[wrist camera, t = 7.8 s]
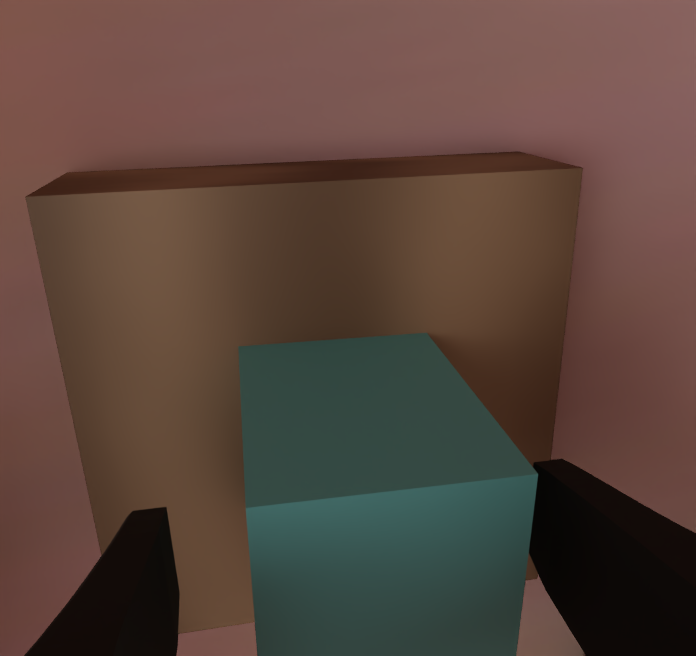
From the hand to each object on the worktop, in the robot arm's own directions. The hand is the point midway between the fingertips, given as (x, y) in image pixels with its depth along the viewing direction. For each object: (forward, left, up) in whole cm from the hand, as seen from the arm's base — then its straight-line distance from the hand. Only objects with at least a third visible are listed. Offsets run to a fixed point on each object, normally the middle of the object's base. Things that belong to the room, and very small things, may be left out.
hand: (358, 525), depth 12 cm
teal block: (0, 0, -4) cm, 4 cm away
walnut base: (0, 0, -8) cm, 8 cm away
